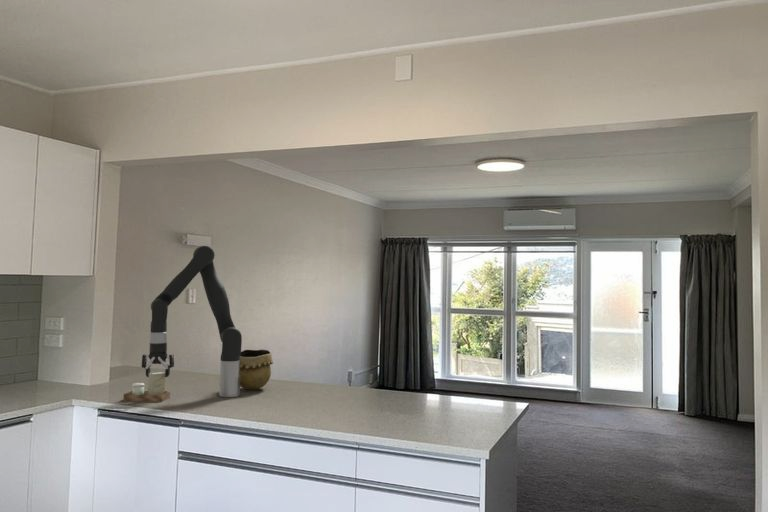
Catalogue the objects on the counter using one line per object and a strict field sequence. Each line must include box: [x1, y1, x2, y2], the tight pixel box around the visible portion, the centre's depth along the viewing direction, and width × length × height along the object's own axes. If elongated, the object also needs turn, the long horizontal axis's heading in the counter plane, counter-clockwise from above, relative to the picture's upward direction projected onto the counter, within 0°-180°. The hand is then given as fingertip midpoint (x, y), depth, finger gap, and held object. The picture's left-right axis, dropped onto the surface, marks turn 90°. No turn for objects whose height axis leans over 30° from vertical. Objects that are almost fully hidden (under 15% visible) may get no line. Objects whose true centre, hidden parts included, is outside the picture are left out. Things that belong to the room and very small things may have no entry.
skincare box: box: [147, 371, 166, 395], centre depth 267 cm, size 6×4×12 cm
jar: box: [131, 382, 145, 394], centre depth 266 cm, size 5×5×7 cm
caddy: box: [122, 390, 171, 403], centre depth 266 cm, size 18×9×4 cm, turn 90°
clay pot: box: [239, 348, 274, 391], centre depth 299 cm, size 21×21×20 cm
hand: (157, 376), depth 267 cm, fingers open, 8 cm apart
